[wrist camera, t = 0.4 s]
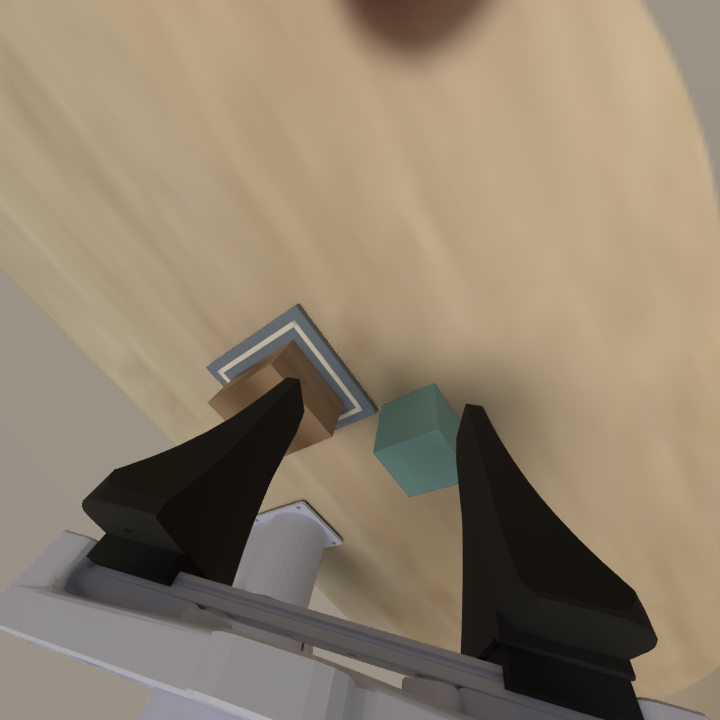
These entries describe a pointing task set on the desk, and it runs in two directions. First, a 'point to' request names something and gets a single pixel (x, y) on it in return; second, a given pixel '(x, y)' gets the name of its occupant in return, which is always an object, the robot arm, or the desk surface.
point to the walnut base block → (270, 372)
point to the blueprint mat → (313, 346)
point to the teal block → (419, 441)
